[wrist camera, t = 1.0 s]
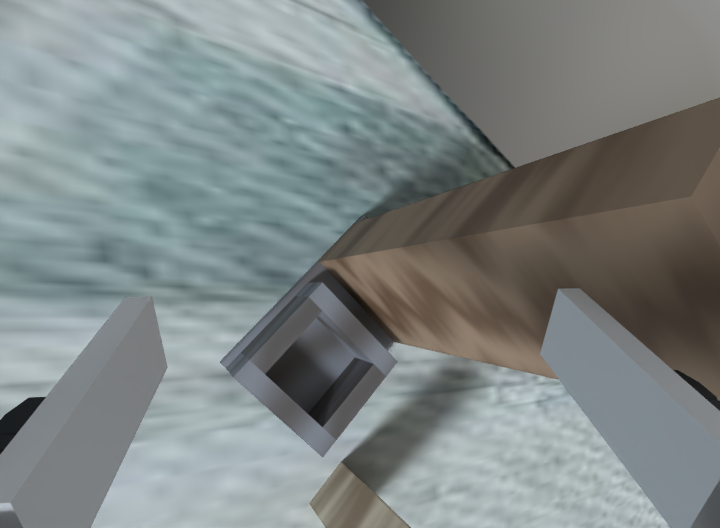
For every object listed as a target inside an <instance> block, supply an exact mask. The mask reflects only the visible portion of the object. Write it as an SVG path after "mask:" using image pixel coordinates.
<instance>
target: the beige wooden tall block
mask: <svg viewBox="0 0 720 528" xmlns="http://www.w3.org/2000/svg"><path fill="white" fill-rule="evenodd" d="M310 505H311V507H312V508H313V510H314V511H315V513H316V514H317V516H318V517H319V519H320V520H321V522H322V523H323V525H324V526H325V527H326V528H411V527H410V526H409V525H408V524H407V523H406V522H405V521H404V520H403V519H401V518H400V517H399V516H398V515H397V514H396V513H395V512H394V511H393V510H392V509H391V508H390V507H389V506H388V505H387V504H386V503H385V502H384V501H383V500H382V499H381V498H380V497H379V496H378V495H377V494H376V493H375V492H374V491H372V490H371V489H370V488H369V487H368V486H367V485H366V484H365V483H364V482H363V481H362V480H360V479H359V478H358V477H357V476H356V475H355V474H354V473H353V472H352V471H350V470H349V469H348V468H347V467H346V466H345V465H344V464H343V463H342V462H341V463H340V464H339V465H338V467H337V468H336V469H335V471H334V472H333V473H332V475H331V476H330V477H329V479H328V480H327V481H326V482H325V484H324V485H323V486H322V488H321V489H320V490H319V492H318V493H317V494H316V496H315V497H314V498H313V500H312V501H311V502H310Z"/></svg>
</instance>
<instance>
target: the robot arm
mask: <svg viewBox="0 0 720 528" xmlns="http://www.w3.org/2000/svg"><path fill="white" fill-rule="evenodd" d="M540 355H541V356H542V358H543V359H544V360H545V362H546V363H547V364H548V366H549V367H550V368H551V369H552V371H553V372H554V373H555V375H556V376H557V377H558V379H559V380H560V381H561V383H562V384H563V385H564V387H565V388H566V389H567V391H568V392H569V393H570V395H571V396H572V397H573V399H574V400H575V401H576V403H577V404H578V405H579V407H580V408H581V409H582V411H583V412H584V413H585V415H586V416H587V417H588V419H589V420H590V421H591V423H592V424H593V425H594V426H595V428H596V429H597V430H598V432H599V433H600V434H601V436H602V437H603V438H604V440H605V441H606V442H607V444H608V445H609V446H610V448H611V449H612V450H613V452H614V453H615V454H616V456H617V457H618V458H619V460H620V461H621V462H622V464H623V465H624V466H625V468H626V469H627V470H628V472H629V473H630V474H631V476H632V477H633V478H634V479H635V481H636V482H637V483H638V485H639V486H640V487H641V489H642V490H643V491H644V493H645V494H646V495H647V497H648V498H649V499H650V501H651V502H652V503H653V505H654V506H655V507H656V509H657V510H658V511H659V513H660V514H661V515H662V517H663V518H664V519H665V521H666V522H667V523H668V525H669V526H670V527H671V528H720V401H718V400H717V397H716V396H715V395H714V394H713V393H711V392H710V391H709V390H708V389H707V388H706V387H704V386H703V385H702V384H701V383H700V382H698V381H696V380H694V379H693V378H691V377H689V376H687V375H686V374H684V373H682V372H680V371H679V370H672V369H671V368H670V367H669V366H668V365H667V364H665V363H664V362H663V361H662V360H661V359H660V358H659V357H657V356H656V355H655V354H654V353H653V352H652V351H651V350H649V349H648V348H647V347H646V346H645V345H644V344H643V343H641V342H640V341H639V340H638V339H637V338H636V337H635V336H633V335H632V334H631V333H630V332H629V331H628V330H627V329H625V328H624V327H623V326H622V325H621V324H620V323H619V322H617V321H616V320H615V319H614V318H613V317H612V316H611V315H610V314H608V313H607V312H606V311H605V310H604V309H603V308H602V307H600V306H599V305H598V304H597V303H596V302H595V301H594V300H592V299H591V298H590V297H589V296H588V295H587V294H586V293H584V292H583V291H582V290H581V289H580V288H566V289H558V291H557V294H556V298H555V302H554V305H553V309H552V312H551V316H550V320H549V323H548V327H547V331H546V334H545V338H544V341H543V345H542V349H541V352H540ZM166 369H167V363H166V359H165V354H164V349H163V345H162V340H161V336H160V331H159V326H158V322H157V317H156V313H155V308H154V303H153V299H152V297H125V299H124V300H123V301H122V302H121V304H120V305H119V306H118V307H117V309H116V310H115V311H114V312H113V314H112V315H111V316H110V317H109V319H108V320H107V321H106V322H105V324H104V325H103V326H102V327H101V329H100V330H99V331H98V333H97V334H96V335H95V336H94V338H93V339H92V340H91V341H90V343H89V344H88V345H87V346H86V348H85V349H84V350H83V351H82V353H81V354H80V355H79V356H78V358H77V359H76V360H75V361H74V363H73V364H72V365H71V366H70V368H69V369H68V370H67V371H66V373H65V374H64V375H63V376H62V378H61V379H60V380H59V382H58V383H57V384H56V385H55V387H54V388H53V389H52V390H51V392H50V393H49V394H48V395H47V397H33V398H28V399H26V400H25V401H24V402H22V403H21V404H19V405H18V406H17V407H15V408H14V409H12V410H11V411H10V412H8V413H7V414H5V415H4V417H3V418H2V419H1V420H0V528H90V527H91V525H92V523H93V521H94V519H95V517H96V515H97V513H98V511H99V509H100V507H101V504H102V502H103V500H104V498H105V496H106V494H107V492H108V490H109V488H110V486H111V484H112V482H113V480H114V477H115V475H116V473H117V471H118V469H119V467H120V465H121V463H122V461H123V459H124V457H125V455H126V452H127V450H128V448H129V446H130V444H131V442H132V440H133V438H134V436H135V434H136V432H137V430H138V428H139V425H140V423H141V421H142V419H143V417H144V415H145V413H146V411H147V409H148V407H149V405H150V403H151V400H152V398H153V396H154V394H155V392H156V390H157V388H158V386H159V384H160V382H161V380H162V378H163V376H164V373H165V371H166Z"/></svg>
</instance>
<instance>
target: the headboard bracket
mask: <svg viewBox="0 0 720 528" xmlns="http://www.w3.org/2000/svg"><path fill="white" fill-rule="evenodd" d="M566 288H580V289H581V290H582V291H583V292H584V293H586V294H587V295H588V296H589V297H590V298H591V299H592V300H594V301H595V302H596V303H597V304H598V305H599V306H600V307H602V308H603V309H604V310H605V311H606V312H607V313H608V314H610V315H611V316H612V317H613V318H614V319H615V320H616V321H617V322H619V323H620V324H621V325H622V326H623V327H624V328H625V329H627V330H628V331H629V332H630V333H631V334H632V335H633V336H635V337H636V338H637V339H638V340H639V341H640V342H641V343H643V344H644V345H645V346H646V347H647V348H648V349H649V350H651V351H652V352H653V353H654V354H655V355H656V356H657V357H659V358H660V359H661V360H662V361H663V362H664V363H665V364H667V365H668V366H669V367H670V368H671V369H672V370H679V371H680V372H682V373H684V374H686V375H687V376H689V377H691V378H693V379H694V380H696V381H698V382H700V383H701V384H702V385H703V386H704V387H706V388H707V389H708V390H709V391H710V392H711V393H713V394H714V395H715V396H716V397H717V400H718V401H720V98H717V99H714V100H711V101H708V102H705V103H703V104H700V105H697V106H694V107H691V108H688V109H685V110H682V111H680V112H676V113H674V114H671V115H668V116H665V117H662V118H659V119H656V120H653V121H650V122H647V123H645V124H642V125H639V126H636V127H633V128H630V129H627V130H624V131H621V132H619V133H616V134H613V135H610V136H607V137H604V138H601V139H598V140H595V141H592V142H589V143H586V144H584V145H581V146H578V147H575V148H572V149H569V150H566V151H563V152H561V153H557V154H554V155H552V156H549V157H546V158H543V159H540V160H537V161H534V162H531V163H529V164H525V165H523V166H520V167H517V168H514V169H511V170H508V171H505V172H502V173H499V174H496V175H494V176H491V177H488V178H485V179H482V180H479V181H476V182H473V183H470V184H467V185H464V186H462V187H459V188H456V189H453V190H450V191H447V192H444V193H441V194H438V195H435V196H433V197H430V198H427V199H424V200H421V201H418V202H415V203H412V204H409V205H406V206H404V207H401V208H398V209H395V210H392V211H389V212H386V213H383V214H380V215H377V216H375V217H372V218H369V219H368V218H367V217H366V216H365V215H363V216H361V217H360V218H359V219H358V220H357V221H356V222H355V223H354V224H353V225H352V226H351V227H350V228H349V229H348V230H347V231H346V232H345V233H344V234H343V235H342V236H341V237H340V238H339V240H338V241H337V242H336V243H335V244H334V245H333V246H332V247H331V248H330V249H329V250H328V251H327V252H326V253H325V254H324V255H323V256H322V257H321V258H320V259H319V260H318V261H317V262H316V263H315V264H314V265H313V266H312V267H311V268H310V269H309V270H308V272H307V273H306V274H305V275H304V276H303V277H302V278H301V279H300V280H299V281H298V282H297V283H296V284H295V285H294V286H293V287H292V288H291V289H290V290H289V291H288V292H287V293H286V294H285V295H284V296H283V297H282V298H281V299H280V300H279V301H278V302H277V304H276V305H275V306H274V307H273V308H272V309H271V310H270V311H269V312H268V313H267V314H266V315H265V316H264V317H263V318H262V319H261V320H260V321H259V322H258V323H257V324H256V325H255V326H254V327H253V328H252V329H251V330H250V331H249V332H248V333H247V334H246V336H245V337H244V338H243V339H242V340H241V341H240V342H239V343H238V344H237V345H236V346H235V347H234V348H233V349H232V350H231V351H230V352H229V353H228V354H227V355H226V356H225V357H224V358H223V359H222V360H221V361H220V363H221V364H222V365H223V366H224V367H225V368H226V369H227V370H228V371H229V373H230V374H231V375H232V376H233V378H235V379H236V380H237V381H238V382H239V383H240V384H241V385H242V386H244V387H245V388H246V389H247V390H248V391H249V392H250V393H251V394H253V395H254V396H255V397H256V398H257V399H258V400H259V401H260V402H261V403H263V404H264V405H265V406H266V407H267V408H268V409H269V410H270V411H272V412H273V413H274V414H275V415H276V416H277V417H278V418H279V419H280V420H282V421H283V422H284V423H285V424H286V425H287V426H288V427H289V428H291V429H292V430H293V431H294V432H295V433H296V434H297V435H298V436H299V437H301V438H302V439H303V440H304V441H305V442H306V443H307V444H308V445H310V446H311V447H312V448H313V449H314V450H315V451H316V452H317V453H318V454H320V455H321V456H322V457H324V455H325V454H326V453H327V451H328V450H329V449H330V448H331V446H332V445H333V444H334V442H335V441H336V440H337V439H338V437H339V436H340V435H341V433H342V432H343V431H344V430H345V428H346V427H347V426H348V425H349V423H350V422H351V421H352V419H353V418H354V417H355V416H356V414H357V413H358V412H359V410H360V409H361V408H362V407H363V405H364V404H365V403H366V402H367V400H368V399H369V398H370V396H371V395H372V394H373V393H374V391H375V390H376V389H377V387H378V386H379V385H380V384H381V382H382V381H383V380H384V378H385V377H386V376H387V375H388V373H389V372H390V371H391V370H392V368H393V367H394V366H395V364H396V363H397V361H396V360H395V358H394V357H393V356H392V355H391V354H390V353H389V352H388V351H387V350H388V349H389V348H390V347H391V345H392V344H393V343H394V342H397V343H401V344H406V345H410V346H414V347H419V348H423V349H428V350H432V351H436V352H441V353H445V354H449V355H454V356H458V357H462V358H467V359H471V360H475V361H480V362H484V363H488V364H493V365H497V366H502V367H506V368H510V369H515V370H519V371H523V372H528V373H532V374H536V375H541V376H545V377H549V378H554V379H558V377H557V376H556V375H555V373H554V372H553V371H552V369H551V368H550V367H549V366H548V364H547V363H546V362H545V360H544V359H543V358H542V356H541V355H540V352H541V349H542V345H543V341H544V338H545V334H546V331H547V327H548V323H549V320H550V316H551V312H552V309H553V305H554V302H555V298H556V294H557V291H558V289H566ZM558 380H559V379H558Z"/></svg>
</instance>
